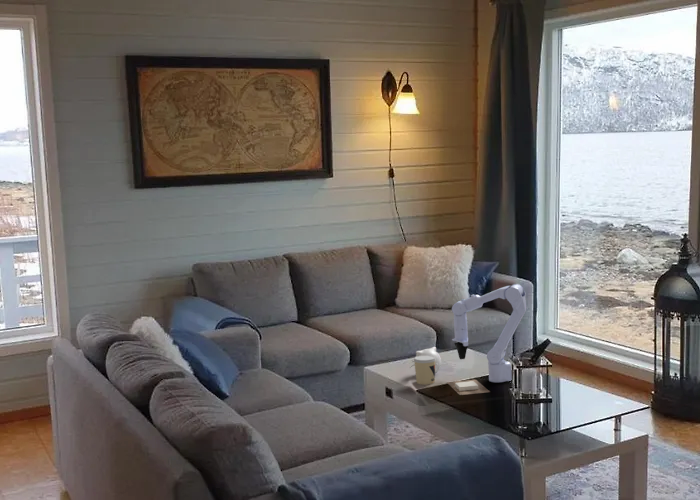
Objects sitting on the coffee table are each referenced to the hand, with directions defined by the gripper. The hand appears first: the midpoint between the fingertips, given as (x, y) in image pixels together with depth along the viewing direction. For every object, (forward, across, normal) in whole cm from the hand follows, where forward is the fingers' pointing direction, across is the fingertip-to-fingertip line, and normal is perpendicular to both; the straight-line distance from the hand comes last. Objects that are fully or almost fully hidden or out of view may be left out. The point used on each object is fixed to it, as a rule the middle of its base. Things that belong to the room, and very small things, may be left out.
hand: (462, 358), depth 348 cm
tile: (+8, +12, -3) cm, 14 cm away
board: (+10, +14, -2) cm, 17 cm away
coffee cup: (+10, 0, -17) cm, 20 cm away
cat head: (+10, -14, -12) cm, 21 cm away
